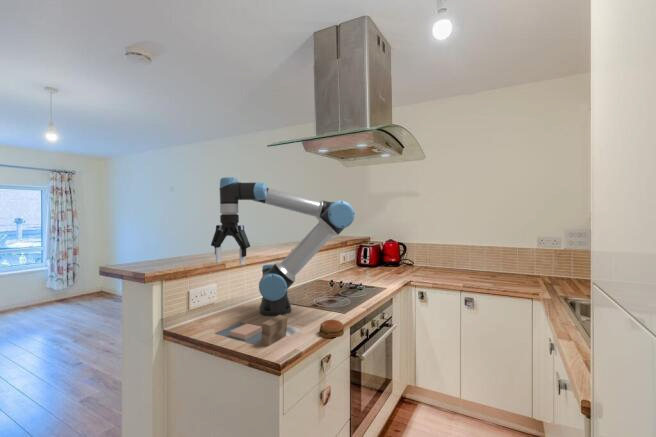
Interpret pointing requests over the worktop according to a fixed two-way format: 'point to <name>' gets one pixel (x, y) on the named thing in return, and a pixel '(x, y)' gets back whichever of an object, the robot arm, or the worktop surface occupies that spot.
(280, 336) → the brown wooden block
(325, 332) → the burger
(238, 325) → the mat
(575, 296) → the worktop surface
